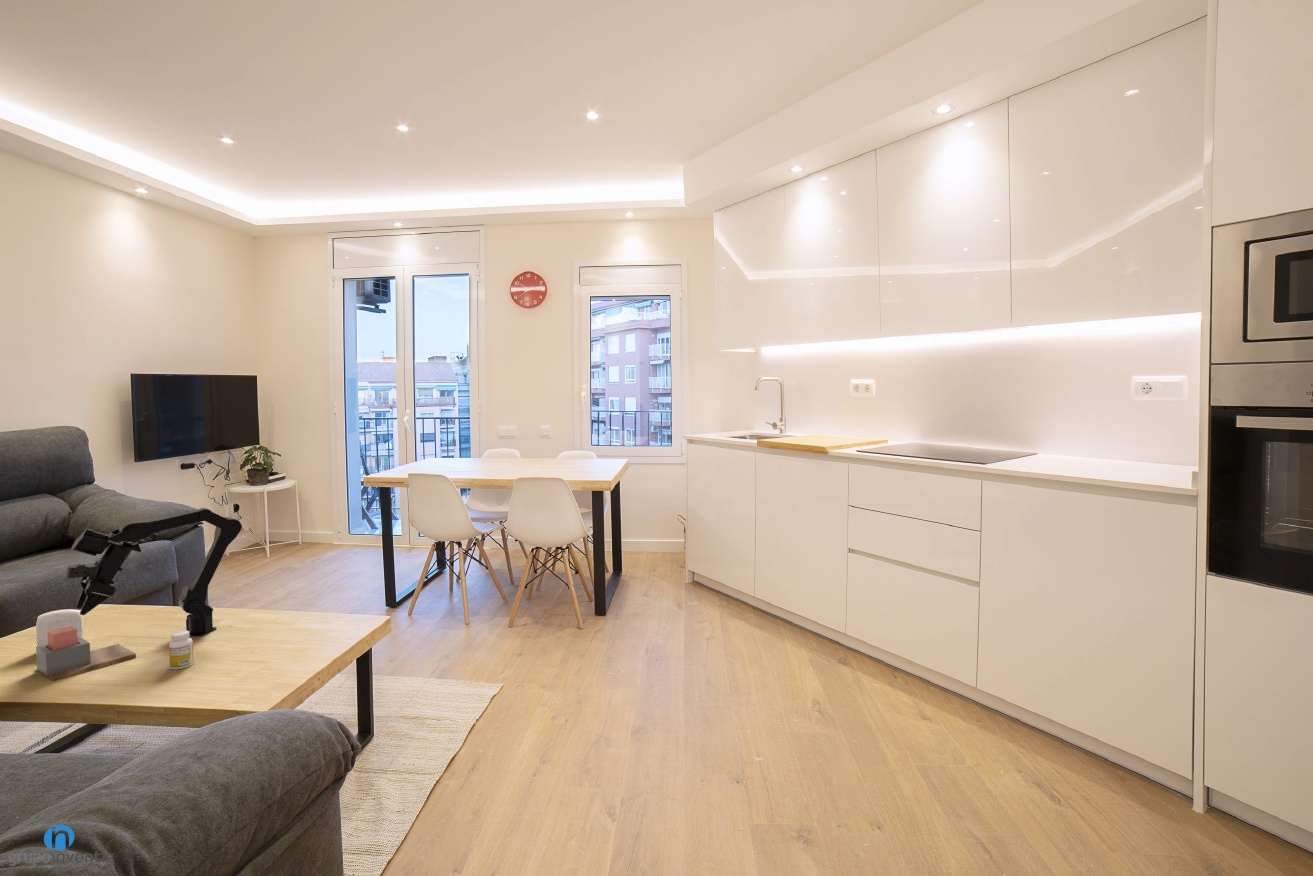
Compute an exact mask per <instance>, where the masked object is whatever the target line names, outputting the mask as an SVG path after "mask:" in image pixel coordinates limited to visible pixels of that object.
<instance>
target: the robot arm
mask: <svg viewBox="0 0 1313 876" xmlns="http://www.w3.org/2000/svg"><path fill="white" fill-rule="evenodd" d="M201 522H206V523H208V524H210V525H212V526H214V527H215V530H214V535H213V541H212V544H211V546H210V548H209V550H208V551H207V554H206V556H205V558H204V560H203V562H202V563H201V564H202V565H201V566H200V568H199V570H198V572H197V574H196V576H195V578H194V580H193V582H192V583H191V584H190V585H189V586H184V585H183V587H182V590H181V593H180V594H179V596H178V597H177V599H178V605H179V607H180V608H181V610H183V611H184V612H185V613H186V614H188V615H186V620H185V629H186V630H185V631H189V634H190V636H202V637H203V636H205V635H206V634H208V633H210V632H212V631H215V630H217V626H214V625H213V621H214V620H213V611H214V608H213V607H211V606H210V605H209V604H208V603H207V601H206V600H207V598H208V589H209V586H210V584H211V581H212V580H213V579H212V578H213V577H214V575H215V573H216V571H217V569H218V567H219V565H220V563H221V560H222V558H223V557H224V554H225V553H226V551H227V548H228V547H229V545H230V544H231V543H232V542H233V541H234V540H235V539H236V538H237V537H238V535H239V534H240V533H241V531H242V530H243V529H242V528H243V525H242V523H241V522H240V520H238V519H235V518H233V517H231V516H225V517H224V516H222V515H220V514H217V513H215V512H214V511H212V510H211V509H209V508H206V507H200V508H199V509H196V510H194V509H193V510H191V511H187V512H182V513H177V514H173V515H169V516H164V517H159V518H154V519H153V518H152V519H140V520H139V519H137V520H136V519H135V520H129V521H125V522H123V523H122V524H120V526H119V527H118V528H117V529H114V530H112V531H110V532H108V533H102V532H97V531H94V530H93V529H90V528H85V530H84V531H83V532H82V533H81V534H80V536H79V537H76V539H75V541H74V542H73V544H72V546H71V549H70V550H71V551H73V552H77V553H80V554H84V555H89V556H93V557H96V556H97V555H102V554H103V555H102V556H101V557H100V559H97V560H96V561H94V563H93V564H91V563H90V564H87V563H86V564H85V563H84V564H69V565H67V568H66V574H65V577H66V578H67V579H75V578H76V579H77V578H79V583H80V584H79V585H80V586H81V588H82V589H81V591H80V595H79V597H78V601H77V603H76V606H75V607H76V608H77V609H81V610H80V611H81V612H80V615H82V616H85V615H87V614H88V613H89V612H90V611H92V610H94V609H95V608H96V607H98V606H99V605H100V604H102V603H103V602H104V601H107V599H109V598H111V597H113V596H114V594H115V592H116V591H117V589H116V587H115V585H114V583H115V578H116V577H117V575H118V574H119V572H122V571H123V566H124V565H125V563H126V562H127V560H128V558H129V556H130V555H131V554H132V552H133V551H134V552H138V553H141V552H142V549H141V547H140V543H139V541H141V540H143V539H146V538H149V537H151V536H153V535H155V534H156V533H160V532H163V531H167V530H171V529H176V528H180V527H183V526H187V525H193V524H197V523H201ZM130 542H131V543H130ZM133 542H135V543H133ZM108 545H109V546H108ZM190 636H189V637H190Z"/></svg>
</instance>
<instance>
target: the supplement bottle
mask: <svg viewBox="0 0 1313 876" xmlns="http://www.w3.org/2000/svg"><path fill="white" fill-rule="evenodd" d="M171 640H172V641H170V642H169V645H168V650H169V651H168V653H169V654H168V655H169V668H170V669H172V670H181V669H186V668H188V667H190V666H192V665H193V664H194V642H193V639H192V638H191V637H190V634H189V631H186V630H181V631H177V632H174V633H172V634H171Z"/></svg>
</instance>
